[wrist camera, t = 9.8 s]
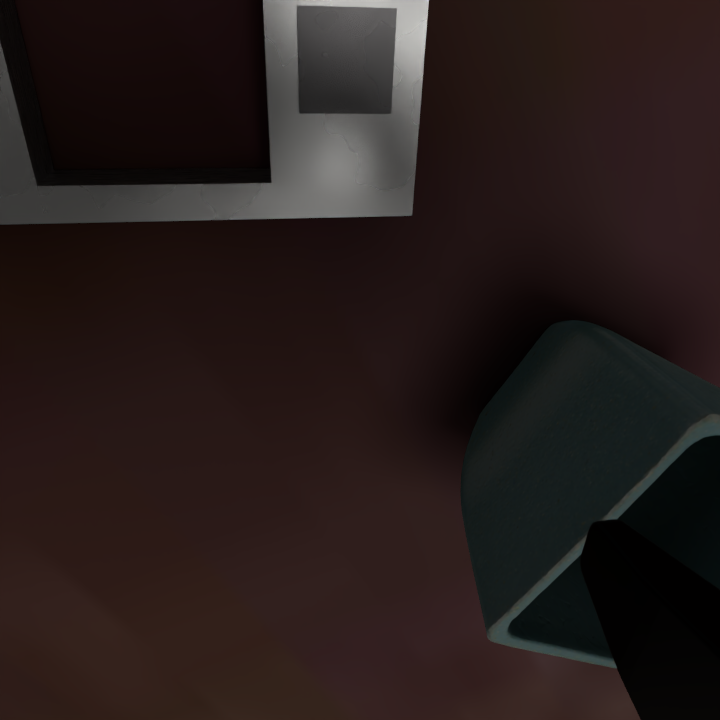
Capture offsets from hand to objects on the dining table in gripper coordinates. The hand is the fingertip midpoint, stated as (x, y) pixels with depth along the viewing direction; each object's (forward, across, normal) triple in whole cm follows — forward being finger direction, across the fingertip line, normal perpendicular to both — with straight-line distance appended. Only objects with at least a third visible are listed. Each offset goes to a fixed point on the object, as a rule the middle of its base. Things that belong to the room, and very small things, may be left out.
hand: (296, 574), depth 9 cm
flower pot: (+13, -11, +7) cm, 18 cm away
